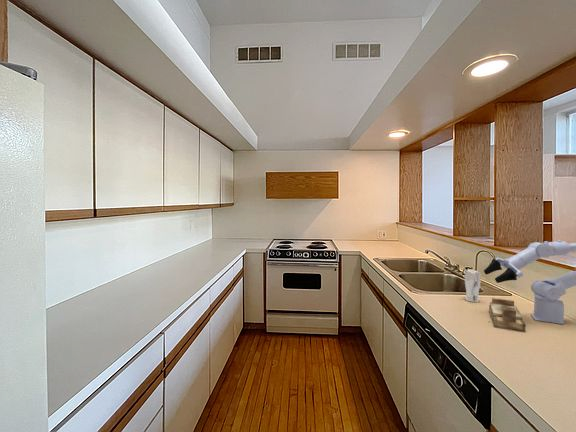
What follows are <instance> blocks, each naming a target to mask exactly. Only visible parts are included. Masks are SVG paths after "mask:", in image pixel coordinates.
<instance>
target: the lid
mask: <svg viewBox="0 0 576 432" xmlns="http://www.w3.org/2000/svg"><path fill="white" fill-rule="evenodd" d="M489 305H490V306H491V309H492V312H493V315H497V316H502V307H510V308H515V310H516V318H517V319H523V315H522V314H521V312H520V310H519V309H518V307H517V305H515V301H514V300H510V299H503V298H502V299H501V298H495V297H494V298H493V297H492V298H491V301H490V302H489Z"/></svg>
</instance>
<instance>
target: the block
mask: <svg viewBox="0 0 576 432" xmlns="http://www.w3.org/2000/svg"><path fill="white" fill-rule="evenodd" d="M502 319H503V321H509V322H515V323H516V310H515V308H510V307H502Z"/></svg>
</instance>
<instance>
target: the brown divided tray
mask: <svg viewBox="0 0 576 432" xmlns="http://www.w3.org/2000/svg"><path fill="white" fill-rule="evenodd" d="M488 313H489V315H490V318H491V322H492V325H493V327H494V328H499V329H504V330H510V331H515V332H516V331H517V332H522V333H526V323H525V320H524V319H523V318H522V319H517V318H516V323H515V322H509V321H503V319H502V316H497V315H493V312H492V309H491V306H490V304H489V305H488Z"/></svg>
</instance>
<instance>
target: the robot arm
mask: <svg viewBox="0 0 576 432" xmlns="http://www.w3.org/2000/svg"><path fill="white" fill-rule="evenodd" d="M570 252H576V242H572V243H568V242H566V241H563V240H561V239H556V241H547V240H545V241H543V242H537V241H535V242H530V243H529V245H527V248H525V249H524V250H522V251H521V250H520V252H517V253H515V254H514V255H512V256H511V257H509V258H504V259H503V258H501V257H496V258H492V260H491V261H490V263H489V265H488V266H487V267H485V268H484V270H483V272H484V275H489V274H491V273H493V272H496V271H501V270H503V268H504V269H506V270H505V271H503V273H501V274H499V275H497V276H496V277H495V278H494V281H495V282H496V283H497V284H499V283H503V282H508V281H517V280H518V278H522V277H523V276H524V274H523V272H522V271H521V270H520V269H522V268H524V267H526V266H528V265H530V264H532V263H534V262H535V261H538V260H539V259H541V258H545V259H547V258H549V257H552V256H565V255H568V254H570ZM502 267H503V268H502ZM530 286H531V287H530V289H531V292H533V294H534V295H533V296H534V300H533V301H534V303H533V304H534V305H533V312H532V313H530V315H531V316H532V318H533V320H535V321H540V322H546V323H551V324H552V323H553V324H560V325H564V324H565V322H564V320H565V318H564V315H565V305H564V301H562V300H560V298H561V297H562V296H563V295H566V292H567V291H566V290H567V289H571V288H573V287H575V286H576V271H573V270H571V271H569V272H567V273H564V274H561V275H560V276H557V277H555V278H545V279H542V280H540V279H539V280H535V281H533V282H532V283H531V285H530Z"/></svg>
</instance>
